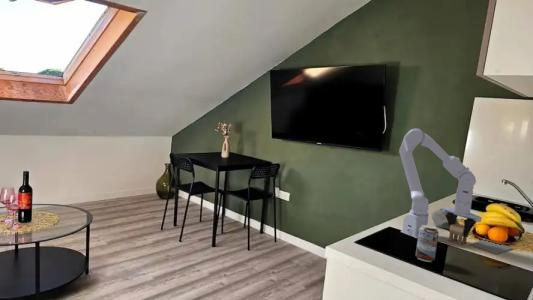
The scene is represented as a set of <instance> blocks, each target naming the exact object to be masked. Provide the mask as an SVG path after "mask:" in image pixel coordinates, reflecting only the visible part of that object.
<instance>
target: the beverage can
mask: <svg viewBox="0 0 533 300" xmlns="http://www.w3.org/2000/svg"><path fill="white" fill-rule="evenodd" d="M439 235H440V234H439V229H438V227H437V226H432V225H428V224H427V225H422V226H421V227H420V229H419V235H418V238H417V242H416V248H415V249H416V250H415V257H416V258H417V260H420V261H422V262H427V263H432V262H433V261H435V260H436V259H435V258H436V253H437V245H438V239H439Z"/></svg>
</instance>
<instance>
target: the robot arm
mask: <svg viewBox="0 0 533 300" xmlns="http://www.w3.org/2000/svg"><path fill="white" fill-rule="evenodd" d="M420 143H421V144H420ZM419 144H420V146H421V147H426V148H428V149H429V150H430V151H432V152H433V153H434V154H435V155H436V156H437V157H438V158H439V159H440V160H441V161H442V167H444V169H446V171H448V173H449V174H451V176H452V177H454V178H456V179H457V181H458V183H457V188H456V192H455V193H456V194H455V200H454V206H453V207H448V206H442V209H443V211H442V212H447V214H446V218H447V221H448V224H449V229H448V230H450V225H453V224H455V223H456V219H457V218H458V217H460V218H463V219H464V220H463V226H464V233H463V237H467V238H468V237H469V235H470V231H471V230H472V228H473V227H474V226H475V224H476V223H482V221H483V217H482V216H480V215H477V214H474V213H472V212H471V209H472V204H473V203H472V202H473V197H474V196H473V194H474V186H475V185H476V183H477V180H476V176H475V175H474V173H473V172H472V171H471V170H470V168H469V167H466V166H465V165H464V164H463V163H462V162H461V159H460V158H459V157H456V156H455V155H449V154H448V153H447V152H446V151H445V150H444V149H443V147H441V146H440V145H439V144H438V143H437V142H436V140H435V139H433V138H432V136H430V135H428V134H427V133H426V132H424V131H423V130H422V129H420V128H418V127H415V128H412V129H409V130H408V132H407V133H406V134H405V135H404V136H403V139H402V142H401V145H400V147H399V151H398V152H399V155H400V159H401V163H402V167H403V170H404V173H405V178H406V180H407V185H408V187H409V192H410V197H411V201H412V202H411V209H409V213H408V214H407V215H405V216H404V219H403V224H402V225H403V226H402V229H401V230H400V233H403V234H405V235H408V236H410V237H413V238H415V239H418V235H419V229H420V227H421V226H422V225H427V226H428V222H429V214H430V213H429V212H428V211H429V204H430V202H429V199H428V198H427V196H426V195H425V193H424V190H423V188H422V185H421V181H420V177H419V173H418V170H417V167H416V164H415V163H416V162H415V159H414V156H413V151H414V150H415V148H416V147H417V146H418V145H419ZM457 220H458V219H457ZM463 237H462V238H463Z"/></svg>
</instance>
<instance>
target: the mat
mask: <svg viewBox="0 0 533 300" xmlns="http://www.w3.org/2000/svg"><path fill="white" fill-rule="evenodd" d="M484 240H485V239H482V240H481V239H480V240H479V241H475V242H472V243H469V246H471V247H474V248H477V249H479V250H483V251H486V252H489V253H491V254H494V255H496V256H497V255H499V254H502V253H506V252H509V251H511V250H513V247H512V246H507V245H504V244H502V245H499V244H500V243H499V244H495V243H492V242H488V241H484Z"/></svg>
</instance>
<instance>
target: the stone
mask: <svg viewBox="0 0 533 300" xmlns="http://www.w3.org/2000/svg"><path fill="white" fill-rule="evenodd" d="M442 211H443V208H439V209H436V210H435V211H434V212H432V213H431V219H432V220H433V224H434V227H436V228H440V229H445V230H449V224H448V221H447V218H446V214H447V212H442ZM455 224H460V223H459V221H458V219H456V223H455Z"/></svg>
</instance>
